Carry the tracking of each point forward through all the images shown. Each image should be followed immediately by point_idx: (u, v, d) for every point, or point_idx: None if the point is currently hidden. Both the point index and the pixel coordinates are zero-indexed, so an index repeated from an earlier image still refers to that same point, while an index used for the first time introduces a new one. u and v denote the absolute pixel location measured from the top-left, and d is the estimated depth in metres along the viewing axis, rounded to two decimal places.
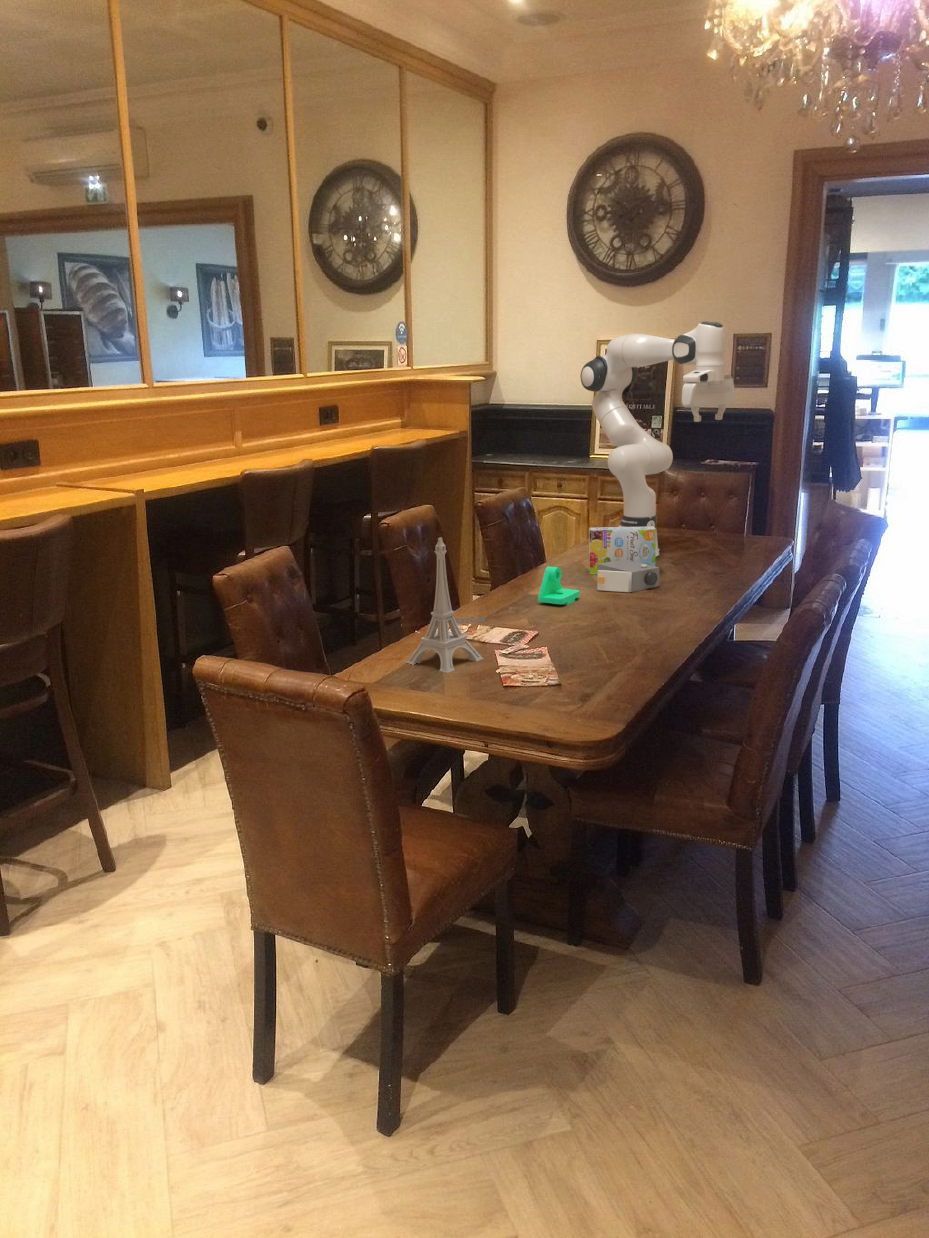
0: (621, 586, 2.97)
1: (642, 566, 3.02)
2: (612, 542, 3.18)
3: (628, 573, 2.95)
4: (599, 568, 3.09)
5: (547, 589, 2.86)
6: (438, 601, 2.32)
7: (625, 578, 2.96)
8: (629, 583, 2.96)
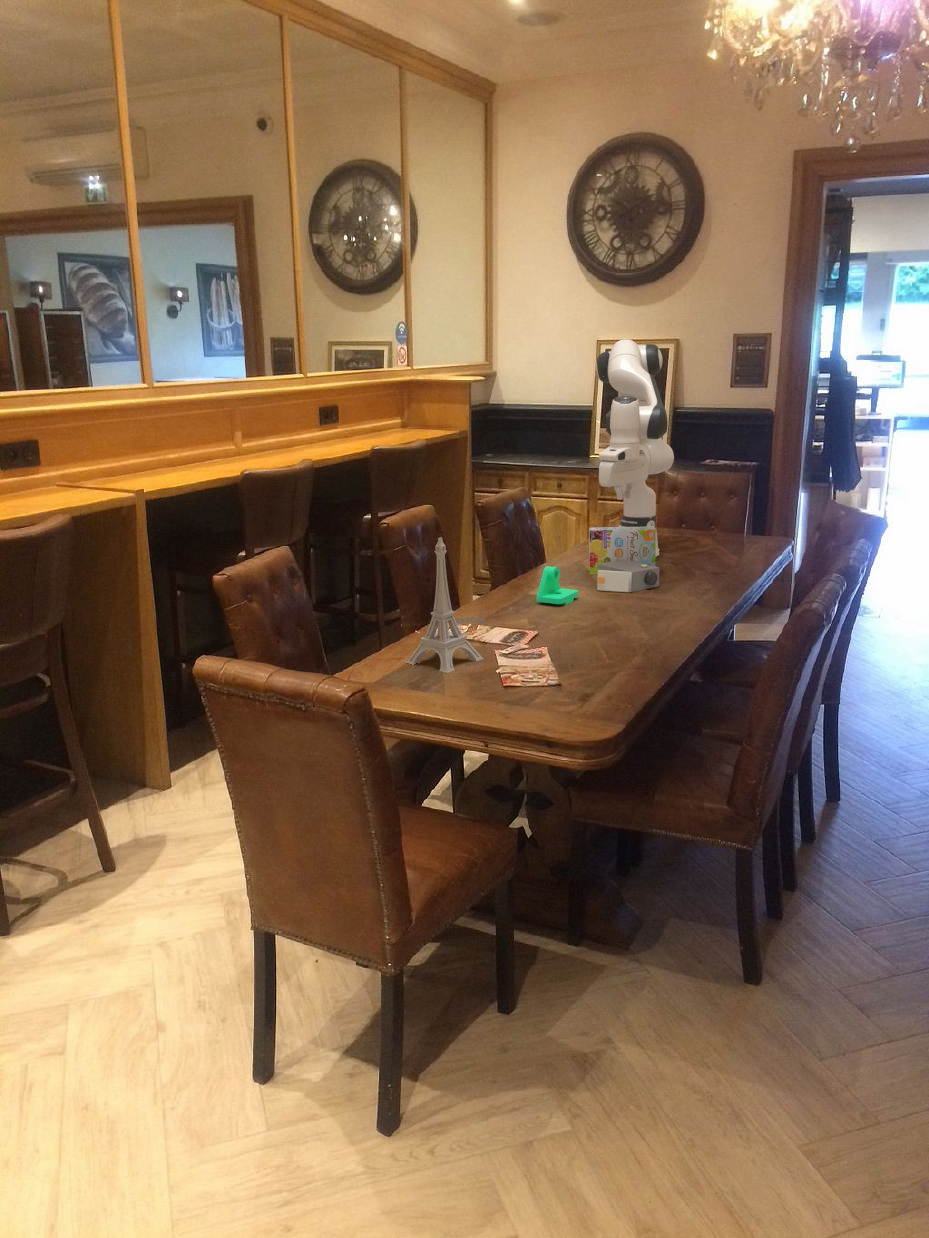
0: (621, 586, 2.97)
1: (642, 566, 3.02)
2: (612, 542, 3.18)
3: (628, 573, 2.95)
4: (599, 568, 3.09)
5: (545, 589, 2.87)
6: (438, 601, 2.32)
7: (625, 578, 2.96)
8: (629, 583, 2.96)
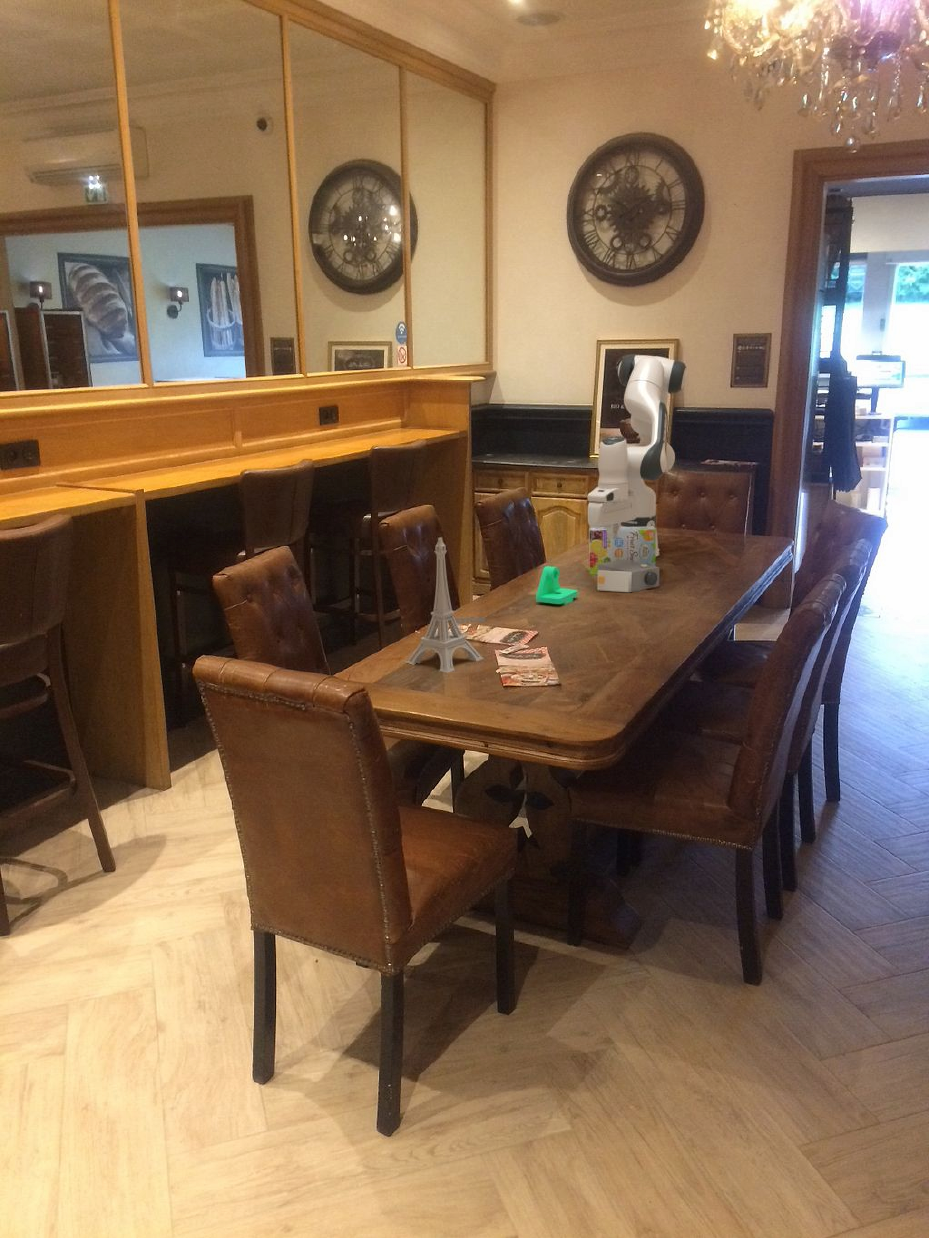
0: (621, 586, 2.97)
1: (642, 566, 3.02)
2: (612, 542, 3.18)
3: (628, 573, 2.95)
4: (599, 568, 3.09)
5: (545, 589, 2.87)
6: (438, 601, 2.32)
7: (625, 578, 2.96)
8: (629, 583, 2.96)
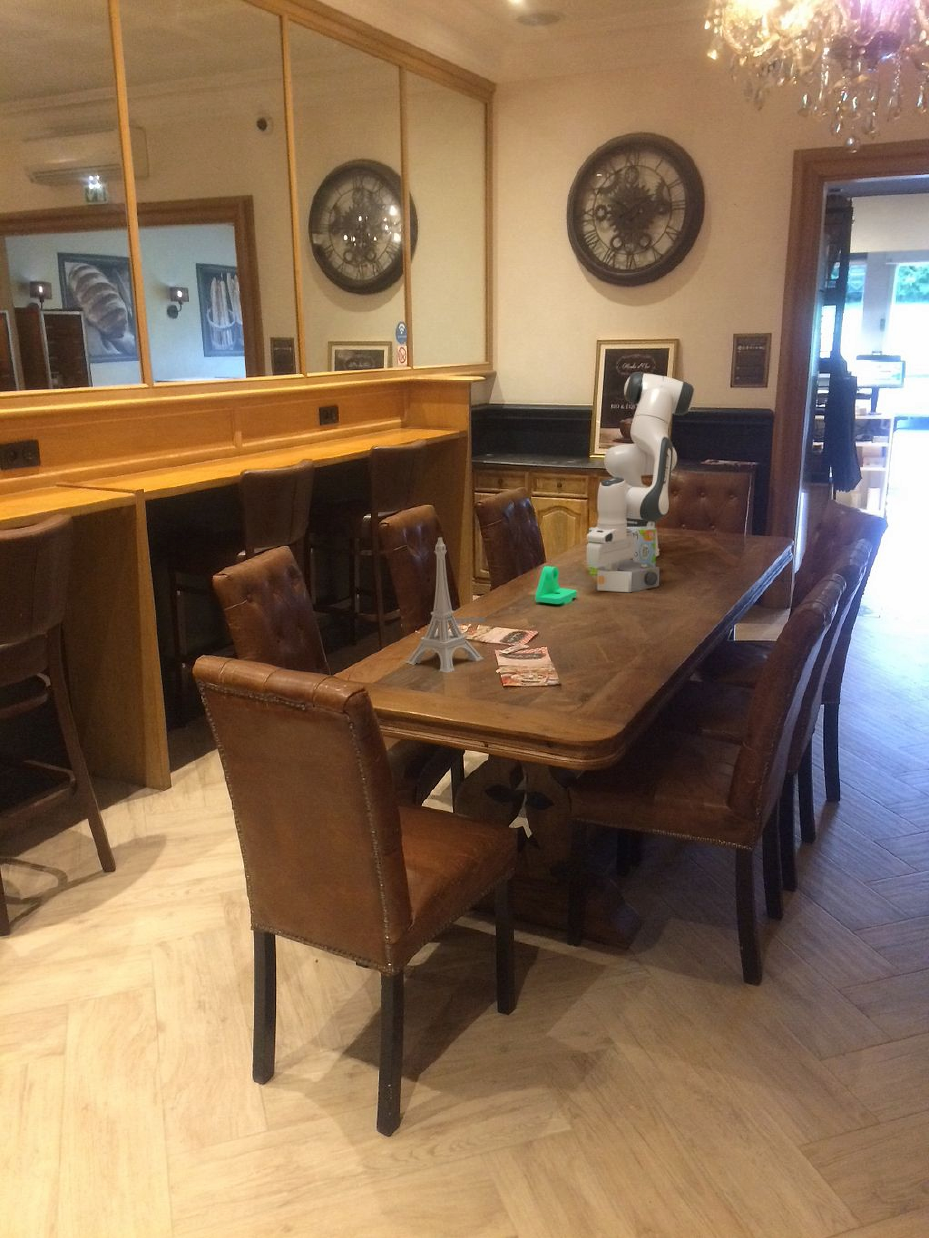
0: (621, 586, 2.97)
1: (642, 566, 3.02)
2: None
3: (628, 573, 2.95)
4: (599, 568, 3.09)
5: (544, 589, 2.87)
6: (438, 601, 2.32)
7: (625, 578, 2.96)
8: (629, 583, 2.96)
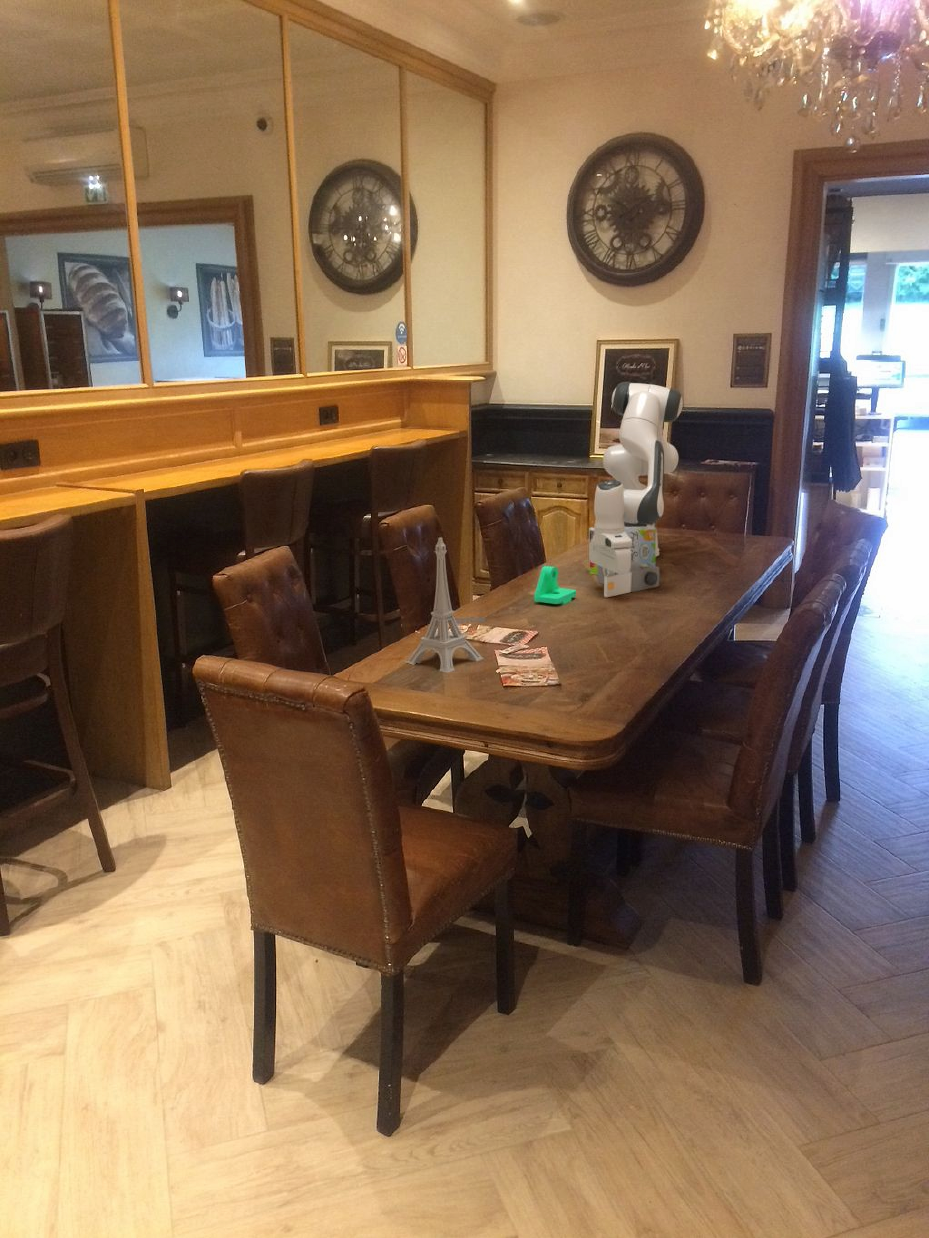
0: (625, 588, 2.95)
1: (642, 566, 3.02)
2: None
3: (630, 573, 2.95)
4: (599, 568, 3.09)
5: (543, 588, 2.87)
6: (438, 601, 2.32)
7: (628, 579, 2.95)
8: (631, 583, 2.96)
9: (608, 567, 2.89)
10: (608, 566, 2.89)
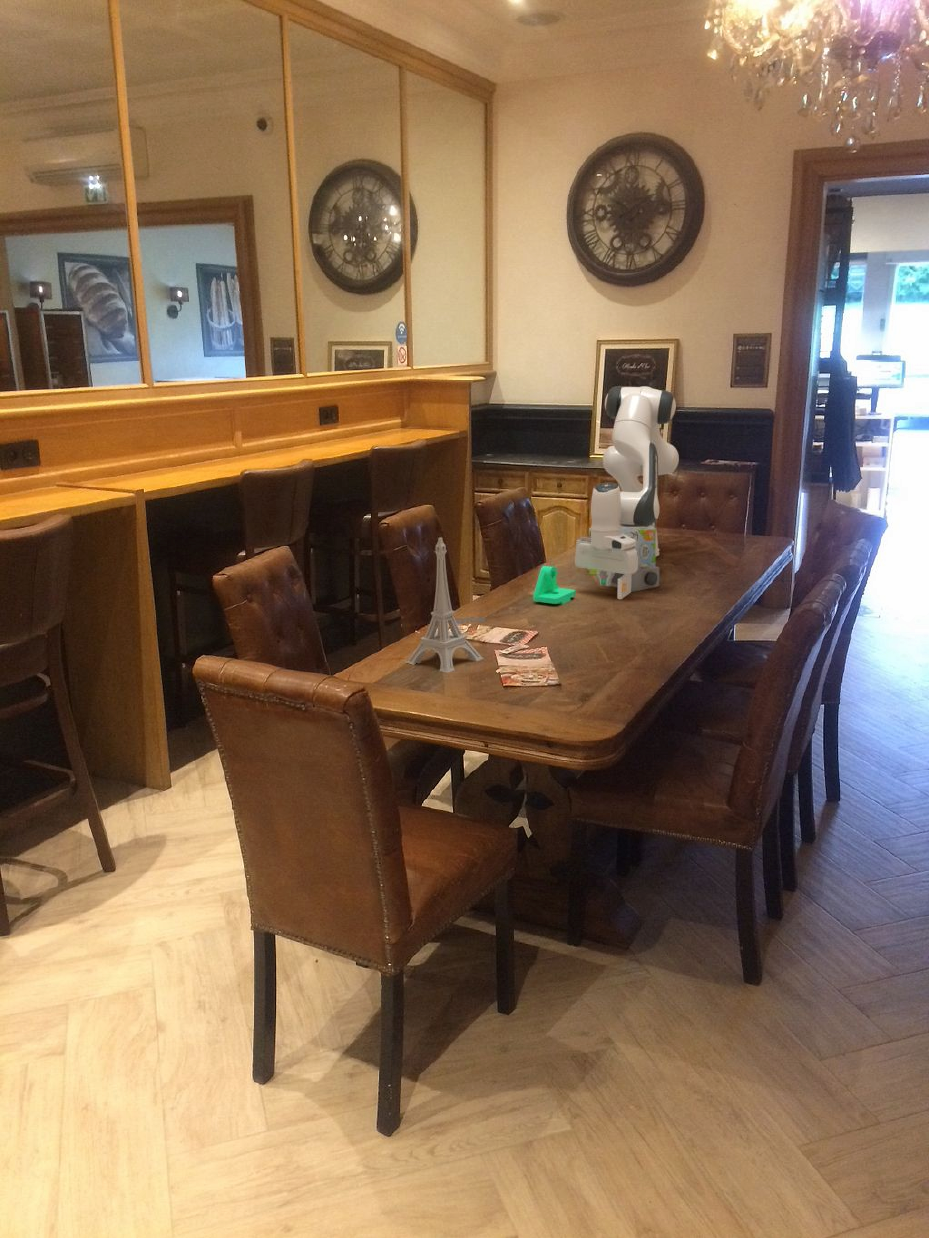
0: (629, 588, 2.94)
1: (642, 566, 3.02)
2: None
3: None
4: None
5: (542, 588, 2.87)
6: (438, 601, 2.32)
7: (630, 579, 2.95)
8: (631, 583, 2.96)
9: (611, 570, 2.88)
10: (611, 568, 2.88)
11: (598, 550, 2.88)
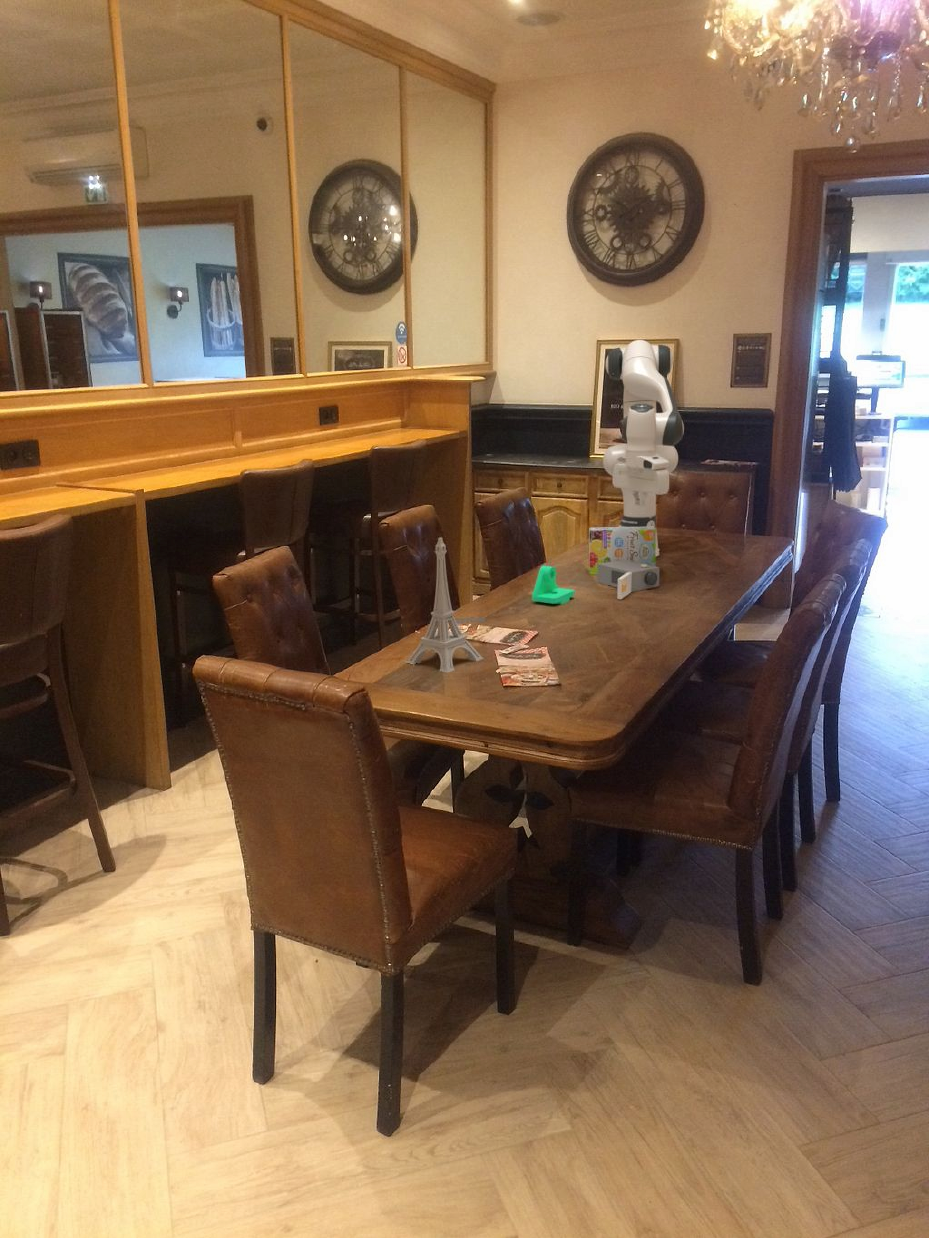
0: (629, 588, 2.94)
1: (642, 566, 3.02)
2: (612, 542, 3.18)
3: (631, 573, 2.95)
4: (599, 568, 3.09)
5: (541, 588, 2.88)
6: (438, 601, 2.32)
7: (630, 579, 2.95)
8: (631, 583, 2.96)
9: (643, 490, 2.95)
10: (643, 488, 2.95)
11: (632, 470, 2.96)
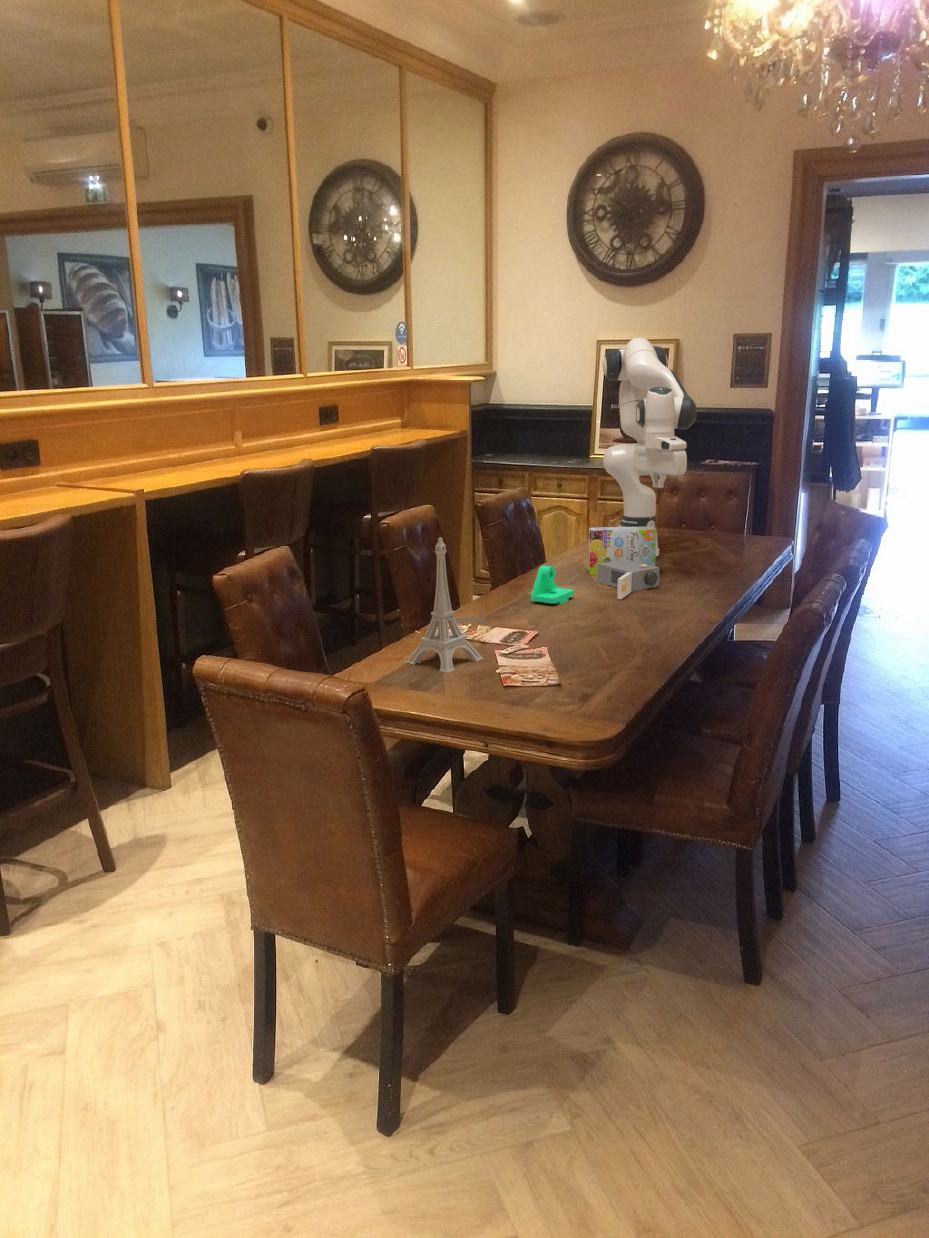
0: (629, 588, 2.94)
1: (642, 566, 3.02)
2: (612, 542, 3.18)
3: (631, 573, 2.95)
4: (599, 568, 3.09)
5: (540, 588, 2.88)
6: (438, 601, 2.32)
7: (630, 579, 2.95)
8: (631, 583, 2.96)
9: (662, 471, 3.00)
10: (661, 470, 3.00)
11: (650, 452, 3.01)
